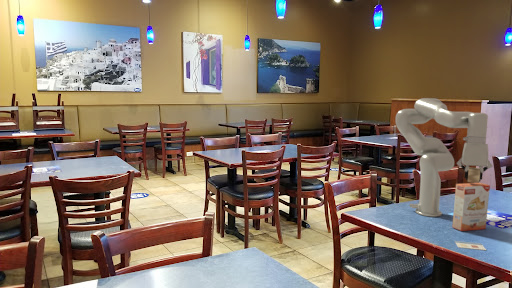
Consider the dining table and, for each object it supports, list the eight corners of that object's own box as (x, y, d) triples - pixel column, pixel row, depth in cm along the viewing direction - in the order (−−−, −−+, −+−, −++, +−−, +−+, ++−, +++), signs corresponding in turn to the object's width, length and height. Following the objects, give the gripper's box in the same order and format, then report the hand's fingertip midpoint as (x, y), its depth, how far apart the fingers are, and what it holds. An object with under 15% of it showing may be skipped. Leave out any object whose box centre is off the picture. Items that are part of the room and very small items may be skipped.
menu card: (458, 247, 154) (458, 246, 154) (454, 241, 161) (454, 240, 161) (486, 250, 152) (486, 249, 152) (481, 244, 158) (481, 243, 158)
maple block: (467, 182, 174) (468, 169, 173) (466, 180, 178) (467, 167, 177) (479, 183, 172) (480, 169, 171) (477, 181, 176) (478, 168, 175)
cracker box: (461, 232, 173) (465, 186, 170) (451, 227, 179) (454, 183, 176) (486, 229, 176) (490, 184, 174) (476, 225, 182) (479, 182, 180)
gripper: (455, 140, 173) (452, 180, 175) (499, 142, 166) (495, 183, 168) (454, 138, 179) (451, 177, 182) (496, 140, 173) (493, 180, 175)
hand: (473, 180), depth 175 cm, fingers closed on maple block, 4 cm apart
